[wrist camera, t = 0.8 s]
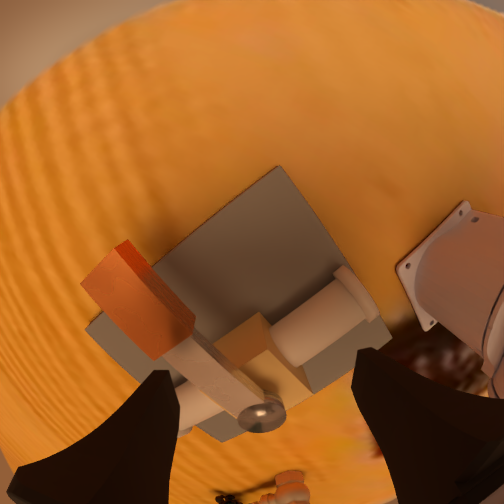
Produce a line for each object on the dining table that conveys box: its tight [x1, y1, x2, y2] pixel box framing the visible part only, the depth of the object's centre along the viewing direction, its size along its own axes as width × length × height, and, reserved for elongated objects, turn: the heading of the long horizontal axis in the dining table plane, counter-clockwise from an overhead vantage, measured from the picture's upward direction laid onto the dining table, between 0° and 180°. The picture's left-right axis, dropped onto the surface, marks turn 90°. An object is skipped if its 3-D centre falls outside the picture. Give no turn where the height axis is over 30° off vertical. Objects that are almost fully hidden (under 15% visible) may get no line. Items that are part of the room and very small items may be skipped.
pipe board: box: [85, 165, 392, 442], centre depth 17 cm, size 18×16×5 cm
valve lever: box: [80, 239, 286, 433], centre depth 12 cm, size 12×3×2 cm, turn 38°
